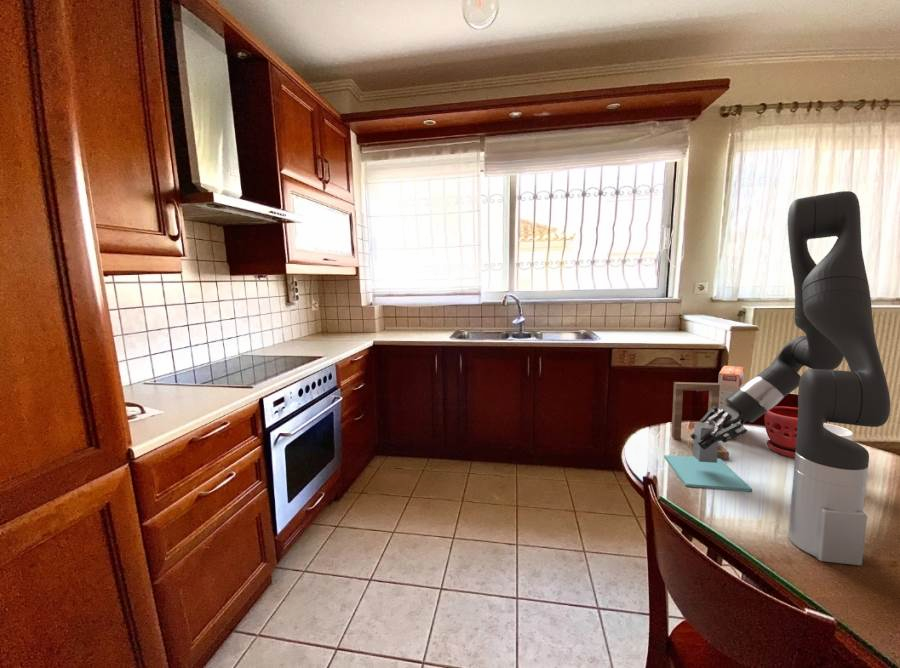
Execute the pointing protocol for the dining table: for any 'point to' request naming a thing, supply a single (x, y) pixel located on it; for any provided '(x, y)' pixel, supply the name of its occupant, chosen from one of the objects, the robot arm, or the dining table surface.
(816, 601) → the dining table surface
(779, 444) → the plant pot
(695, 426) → the steel bar
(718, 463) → the teal mat
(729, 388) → the cracker box
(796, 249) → the robot arm
